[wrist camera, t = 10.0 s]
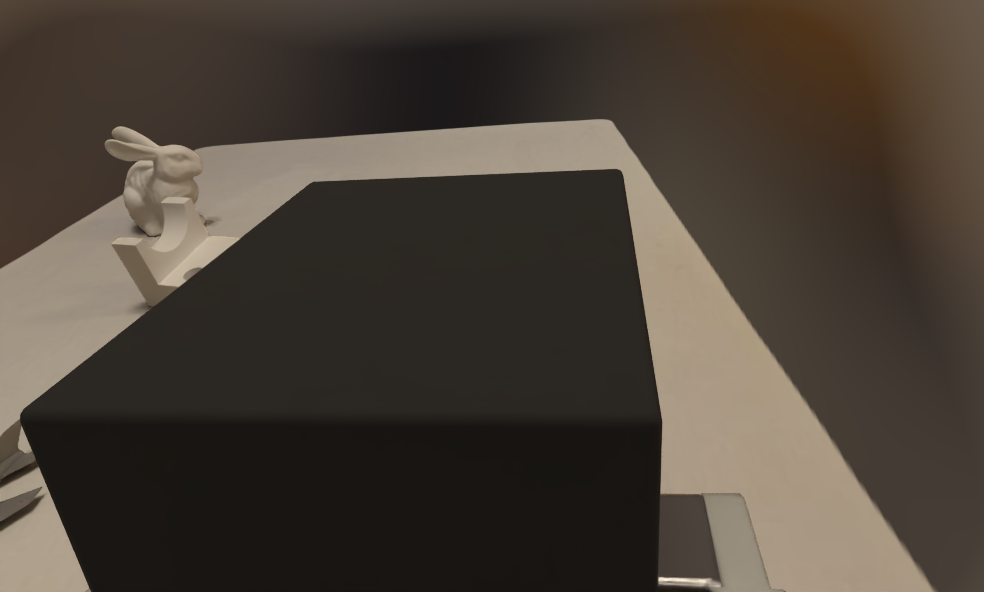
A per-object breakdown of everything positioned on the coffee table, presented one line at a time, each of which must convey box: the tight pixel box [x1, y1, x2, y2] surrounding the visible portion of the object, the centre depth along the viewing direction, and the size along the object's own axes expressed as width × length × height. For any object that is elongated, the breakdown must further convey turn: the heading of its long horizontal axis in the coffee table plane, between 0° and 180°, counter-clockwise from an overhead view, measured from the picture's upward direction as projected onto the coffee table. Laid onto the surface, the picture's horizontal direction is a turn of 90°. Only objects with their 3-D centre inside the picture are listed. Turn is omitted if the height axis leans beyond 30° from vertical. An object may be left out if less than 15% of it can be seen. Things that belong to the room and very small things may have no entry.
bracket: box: [112, 197, 240, 306], centre depth 60 cm, size 13×7×8 cm, turn 69°
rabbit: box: [105, 127, 206, 236], centre depth 80 cm, size 12×9×12 cm
